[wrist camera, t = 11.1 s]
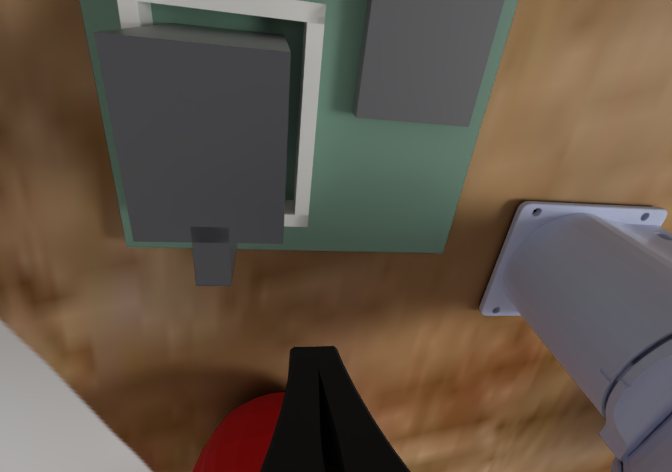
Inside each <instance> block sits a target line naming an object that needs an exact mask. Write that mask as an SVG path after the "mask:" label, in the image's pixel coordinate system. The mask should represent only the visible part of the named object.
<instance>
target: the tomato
mask: <svg viewBox="0 0 672 472" xmlns="http://www.w3.org/2000/svg"><path fill="white" fill-rule="evenodd" d="M284 394H285V392H279V393H270V394H267V395H263V396H260V397H257V398H255V399H253V400H251V401H249V402H247V403H244V404H243V405H241V406H239V407H237V408H235V409H234V410H232V411H230V412H229V414H228V415H227V416H226V417H225V419H224V420H223V421H222V423H221V424H220V425H219V426H218V428H217V429H216V430H215V432H214V433H213V435H212V436H211V438H210V439H209V441H208V442H207V444H206V445H205V447H204V448H203V450H202V452H201V454H200V456H199V458H198V461H197V463H196V465H195V467H194V469H193V472H260V469H261V467H262V464H263V462H264V459H265V456H266V454H267V451H268V448H269V445H270V442H271V439H272V436H273V433H274V430H275V427H276V424H277V420H278V417H279V414H280V410H281V406H282V402H283V398H284Z"/></svg>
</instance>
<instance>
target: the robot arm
mask: <svg viewBox="0 0 672 472" xmlns="http://www.w3.org/2000/svg"><path fill="white" fill-rule="evenodd" d="M535 209H537V210H536V212H534V213H533V211H534V210H535ZM666 216H667V211H666V210H664V209H663V208H660V207H646V206H624V205H603V204H582V203H561V202H539V201H525V202H523V203H521V204H520V205H519V207H518V208H517V211H516V213H515V216H514V218H513V221H512V224H511V226H510V229H509V231H508V234H507V237H506V239H505V242H504V244H503V247H502V249H501V252H500V255H499V257H498V260H497V262H496V265H495V268H494V270H493V273H492V275H491V278H490V281H489V283H488V286H487V288H486V291H485V293H484V296H483V299H482V301H481V304H480V306H479V310H480V312H481V314H482V315H484V316H520V315H521V316H522V317H523V318H524V319H525V321H526V322H527V323H528V324H529V326H530V327H531V328H532V329H533V331H534V332H535V333H536V334H537V336H538V337H539V338H540V339H541V340H542V342H543V343H544V344H545V345H546V347H547V348H548V349H549V350H550V352H551V353H552V354H553V355H554V357H555V358H556V359H557V360H558V361H559V363H560V364H561V365H562V366H563V368H564V369H565V370H566V371H567V373H568V374H569V375H570V376H571V378H572V379H573V380H574V381H575V382H576V384H577V385H578V386H579V387H580V389H581V390H582V391H583V392H584V394H585V395H586V396H587V397H588V399H589V400H590V401H591V402H592V404H593V405H594V406H595V407H596V408H597V410H598V411H599V412H600V413H601V415H602V416H603V417H604V418H605V419H606V423H605V425H604V427H603V429H602V430H601V431H600V433H599V435H600V436H601V438H602V439H603V440H604V442H605V443H606V444H607V445H608V447H609V448H610V449H611V451H612V452H613V453H614V455H615V456H616V457H615V459H614V461H613V463H612V465H611V472H672V233H671V232H670V231H668V230H666V229H664V228H662V227H661V225H662V223H663V222H664V220H665V218H666ZM494 308H495V309H494ZM260 472H410V470H409V469H408V468H407V466H406V465H405V464H404V462H403V461H402V460H401V458H400V457H399V456H398V454H397V453H396V452H395V450H394V449H393V447H392V446H391V445H390V443H389V442H388V440H387V439H386V437H385V436H384V434H383V433H382V431H381V430H380V428H379V427H378V425H377V424H376V422H375V420H374V419H373V417H372V416H371V414H370V412H369V411H368V409H367V407H366V406H365V404H364V402H363V400H362V399H361V397H360V395H359V393H358V392H357V390H356V388H355V386H354V384H353V382H352V380H351V378H350V376H349V375H348V373H347V370H346V368H345V366H344V364H343V362H342V360H341V357H340V355H339V353H338V350H337V348H335V347H334V346H321V347H294V348H292V349H291V350H290V358H289V372H288V381H287V386H286V391H285V394H284V398H283V402H282V406H281V410H280V414H279V417H278V420H277V424H276V427H275V430H274V433H273V436H272V439H271V442H270V445H269V448H268V451H267V454H266V456H265V459H264V462H263V464H262V467H261V469H260Z"/></svg>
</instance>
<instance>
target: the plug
mask: <svg viewBox="0 0 672 472" xmlns="http://www.w3.org/2000/svg"><path fill="white" fill-rule="evenodd" d="M94 36H95V41H96V46H97V52H98V57H99V62H100V68H101V73H102V78H103V83H104V89H105V94H106V99H107V104H108V110H109V115H110V120H111V126H112V131H113V136H114V141H115V147H116V152H117V157H118V163H119V168H120V173H121V178H122V184H123V189H124V194H125V199H126V205H127V210H128V215H129V221H130V226H131V231H132V236H133V242H192V248H193V258H194V268H195V278H196V286H231V284H232V277H233V271H234V265H235V258H236V252H237V246H238V243H255V244H283V237H284V212H285V187H286V162H287V136H288V111H289V86H290V61H291V51H290V49H289V46H288V44H287V41H286V38H285V36H284V35H280V34H270V33H261V32H252V31H243V30H234V29H225V28H215V27H206V26H197V25H188V24H179V23H167V24H158V25H150V26H141V27H133V28H124V29H116V30H108V31H99V32H94Z"/></svg>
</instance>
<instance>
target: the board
mask: <svg viewBox="0 0 672 472" xmlns="http://www.w3.org/2000/svg"><path fill="white" fill-rule="evenodd" d="M517 3H518V0H80V5H81V10H82V15H83V21H84V26H85V31H86V36H87V41H88V47H89V52H90V57H91V62H92V68H93V73H94V78H95V83H96V88H97V94H98V99H99V104H100V109H101V114H102V120H103V125H104V130H105V135H106V141H107V146H108V151H109V156H110V161H111V167H112V172H113V177H114V182H115V188H116V193H117V198H118V203H119V208H120V214H121V219H122V224H123V229H124V234H125V240H126V245H127V247H150V248H192V242H133V236H132V231H131V226H130V221H129V215H128V210H127V205H126V199H125V194H124V189H123V184H122V178H121V173H120V168H119V163H118V157H117V152H116V147H115V141H114V136H113V131H112V126H111V120H110V115H109V110H108V104H107V99H106V94H105V89H104V83H103V78H102V73H101V68H100V62H99V57H98V52H97V46H96V41H95V36H94V32H99V31H108V30H116V29H124V28H133V27H141V26H150V25H158V24H167V23H179V24H188V25H197V26H206V27H215V28H225V29H234V30H243V31H252V32H261V33H270V34H280V35H284V36H285V38H286V41H287V44H288V46H289V49H290V51H291V61H290V86H289V111H288V136H287V162H286V187H285V212H284V237H283V244H255V243H238V246H237V249H254V250H305V251H357V252H408V253H443V251H444V248H445V245H446V241H447V238H448V235H449V231H450V228H451V224H452V221H453V218H454V214H455V211H456V208H457V204H458V201H459V198H460V194H461V191H462V187H463V184H464V181H465V177H466V174H467V171H468V167H469V164H470V161H471V157H472V154H473V151H474V147H475V144H476V140H477V137H478V134H479V130H480V127H481V124H482V120H483V117H484V114H485V110H486V107H487V104H488V100H489V97H490V93H491V90H492V87H493V83H494V80H495V77H496V73H497V70H498V67H499V63H500V60H501V57H502V53H503V50H504V46H505V43H506V40H507V36H508V33H509V30H510V26H511V23H512V20H513V16H514V13H515V10H516V6H517Z"/></svg>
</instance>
